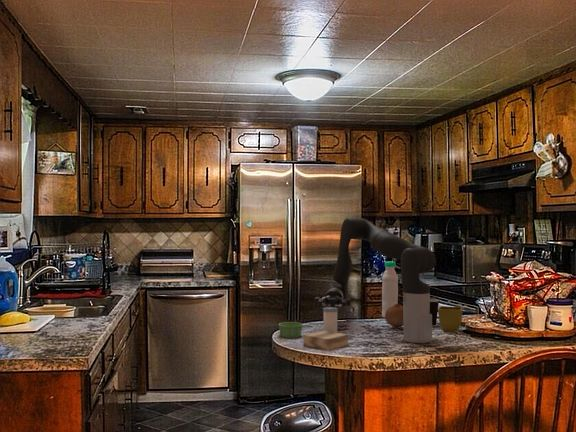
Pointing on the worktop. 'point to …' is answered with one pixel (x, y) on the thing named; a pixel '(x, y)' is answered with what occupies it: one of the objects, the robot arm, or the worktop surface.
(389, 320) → the onion
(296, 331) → the ramekin
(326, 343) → the base block
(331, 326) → the canister
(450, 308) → the flower pot
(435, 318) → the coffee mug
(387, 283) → the water bottle
